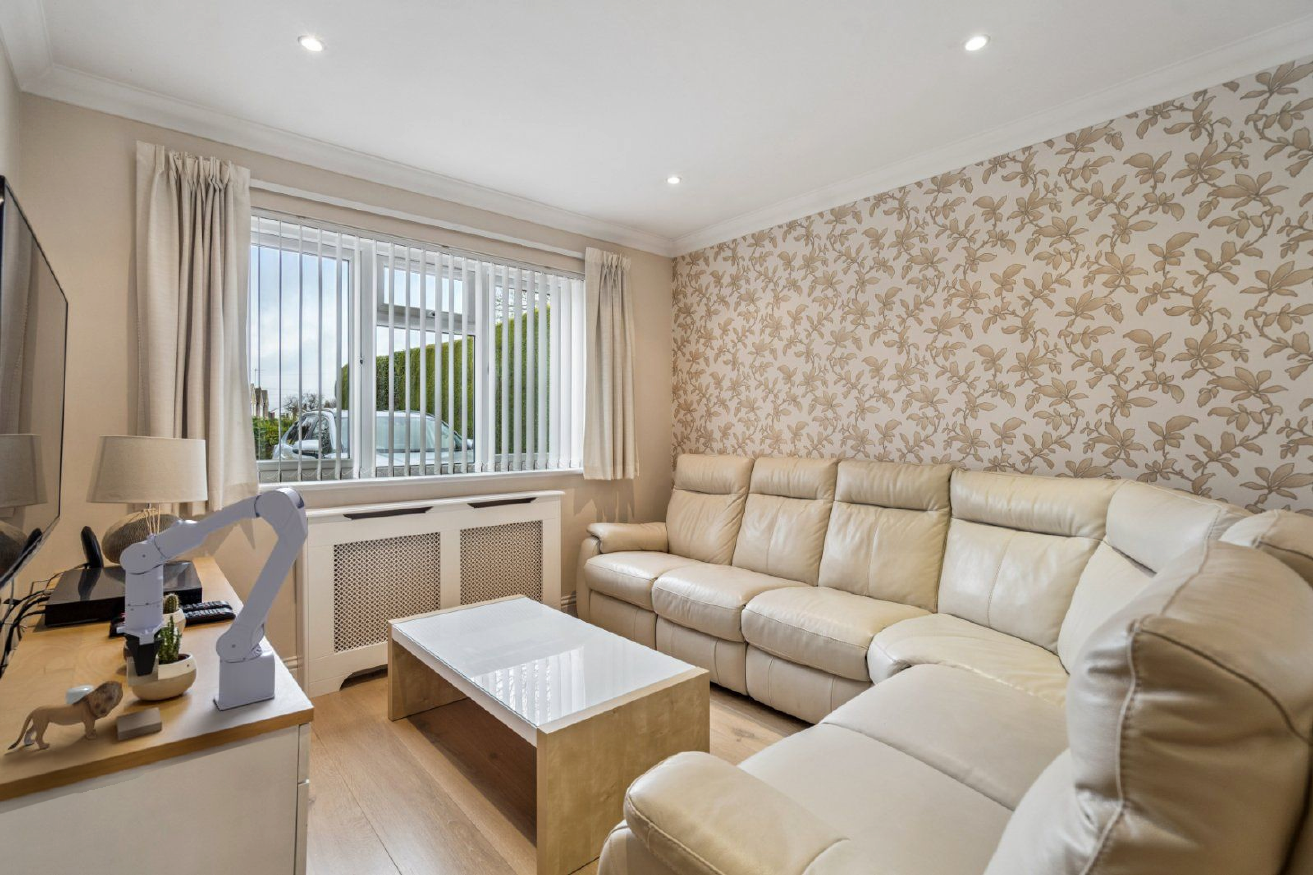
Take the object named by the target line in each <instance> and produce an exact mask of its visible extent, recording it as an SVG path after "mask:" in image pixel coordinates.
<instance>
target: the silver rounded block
mask: <svg viewBox="0 0 1313 875" xmlns="http://www.w3.org/2000/svg"><path fill="white" fill-rule="evenodd" d="M92 691H94V686H93V685H91V684H89V685H88V684H85V685H79V686H75V687H71V688H69V689H67V690H66V691H65V704H72V703H74V702H76V701H78V700H79V699H81V698H82V697H83V696H85V695H86V694H89V693H90V692H92Z"/></svg>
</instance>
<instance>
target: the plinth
mask: <svg viewBox="0 0 1313 875" xmlns="http://www.w3.org/2000/svg"><path fill="white" fill-rule="evenodd" d="M115 717H116V719H115V721H116V722H115V723H116V732H117V733H116V734H117V741H123V740H128V739H131V738H135V737H140V736H142V735H146V734H150V733H155V732H158V731H162V730H163V719H162V717H161V714H160V709H159V707H158V706H157V707H153V708H149V709H144V710H140V711H135V712H130V713H126V714H122V715H117V716H115Z"/></svg>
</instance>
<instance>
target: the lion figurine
mask: <svg viewBox="0 0 1313 875" xmlns="http://www.w3.org/2000/svg"><path fill="white" fill-rule="evenodd" d="M123 697H124V690H123V682H119V681H117V680H108V681H105V682H103V683H102V684H99V685H98V687H96V688H95V689H93V691H92V692H90V693H89V694H86V695H85V696H83V697H82V698H81V699H79V700H78V701H76V702H74V703H72V704H66V703H65V704H53V703H51V704H45V705H41V706H38V707H36V708H34V709H33V710H32V711H31V712H29V714H28V715H27V717H26V719H25V721H24V723H23V726H22V728H21V731H20V734H19V735H18V736H19V737H18V738H17V740H16V741H15V742H14V743H12V744H11V745H10V746H9V747H8V748H7V750H10V751H11V750H14V749H15V748H17V746H18V745H20V743H21V741H22V739H23V743H24V745H32V744H34V743H35V742H36V744H37V745H38V747H39V749H47V748H49V747H50V746H51V743H50V742H45V741H44V739H43V737H44V734H45V733H46V730H47V729H48V726H49V724H50V723H52V724H55V725H57V726H72V725H73V726H74V725H76V724H81V723H83V724H84V733H85V735H86V737H87V739H88V740H95V739H97V737H98V734H96V732H97V729H96V728H95V726H96V721H97V720H100V719H103V718H105V717H108V715H109V714H110V713H111V711H112V710H114V709H115V708H116V707H117V706H119V704H120V703H121V702H122V699H123ZM31 721H32V725H31V726H30V728H29V729H28V727H29V725H30V723H31ZM35 733H36V736H35V737H34V738H31V737H32V736H33V735H34V734H35Z"/></svg>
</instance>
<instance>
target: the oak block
mask: <svg viewBox="0 0 1313 875" xmlns="http://www.w3.org/2000/svg"><path fill="white" fill-rule="evenodd" d="M159 658H160V657H159V655H158V654H157V655H156V659H155V663H154V667H153V671H152V673H151V674H149V675H144V676H139V677H138V676H137V673H136V670H135V664H134V659H133V656H132V655H131V656H127V657H126V683H127V688H130V687H136V686H140V685H145V684H149V683H154V682H159Z"/></svg>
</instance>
